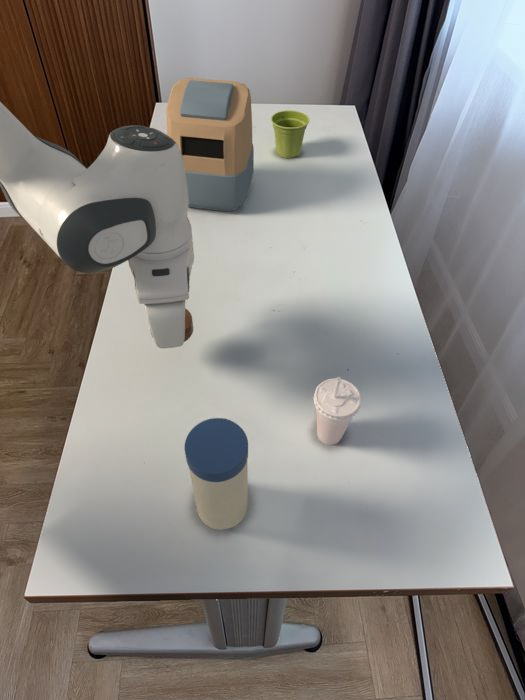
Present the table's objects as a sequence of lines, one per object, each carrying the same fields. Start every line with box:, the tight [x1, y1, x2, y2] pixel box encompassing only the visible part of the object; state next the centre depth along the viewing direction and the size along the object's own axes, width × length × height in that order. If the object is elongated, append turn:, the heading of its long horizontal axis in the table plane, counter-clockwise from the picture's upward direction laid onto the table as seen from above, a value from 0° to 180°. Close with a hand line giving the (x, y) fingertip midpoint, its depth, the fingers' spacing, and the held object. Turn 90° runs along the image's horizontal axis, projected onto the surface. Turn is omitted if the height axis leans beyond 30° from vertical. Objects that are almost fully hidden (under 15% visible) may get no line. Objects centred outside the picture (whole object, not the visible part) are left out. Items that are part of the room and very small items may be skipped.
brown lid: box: [149, 307, 194, 343], centre depth 78 cm, size 7×7×2 cm
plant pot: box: [270, 109, 310, 159], centre depth 125 cm, size 9×9×9 cm
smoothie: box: [313, 376, 362, 446], centre depth 70 cm, size 6×6×14 cm
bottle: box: [183, 417, 249, 531], centre depth 61 cm, size 7×7×16 cm
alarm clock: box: [165, 77, 255, 212], centre depth 107 cm, size 17×17×23 cm
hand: (171, 322), depth 78 cm, fingers closed on brown lid, 6 cm apart
